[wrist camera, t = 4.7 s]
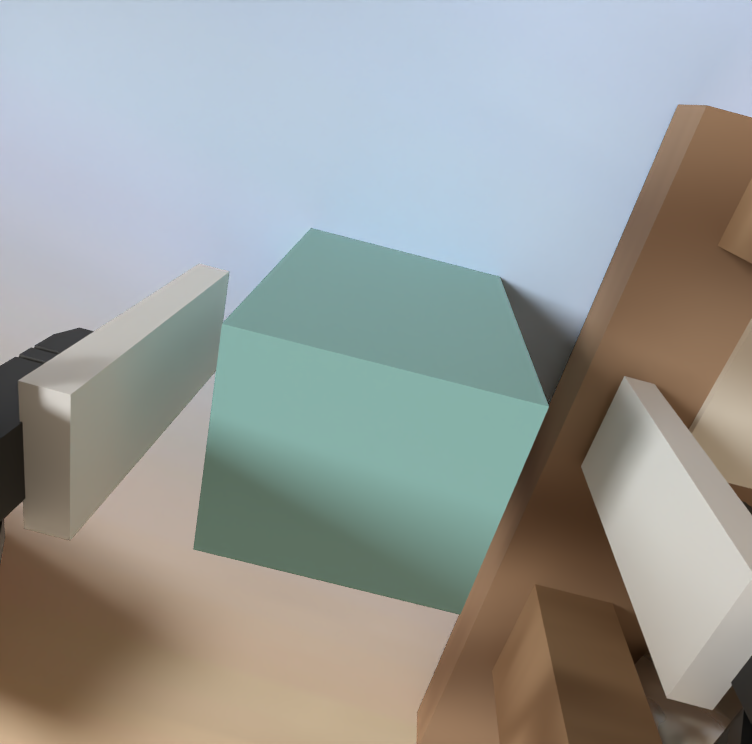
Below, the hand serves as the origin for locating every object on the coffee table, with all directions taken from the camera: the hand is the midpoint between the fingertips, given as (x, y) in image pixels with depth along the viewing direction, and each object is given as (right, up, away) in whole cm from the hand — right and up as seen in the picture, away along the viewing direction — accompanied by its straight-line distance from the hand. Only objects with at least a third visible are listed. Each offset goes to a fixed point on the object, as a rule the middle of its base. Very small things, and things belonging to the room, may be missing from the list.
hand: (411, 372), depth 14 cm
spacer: (-1, +1, +1) cm, 2 cm away
